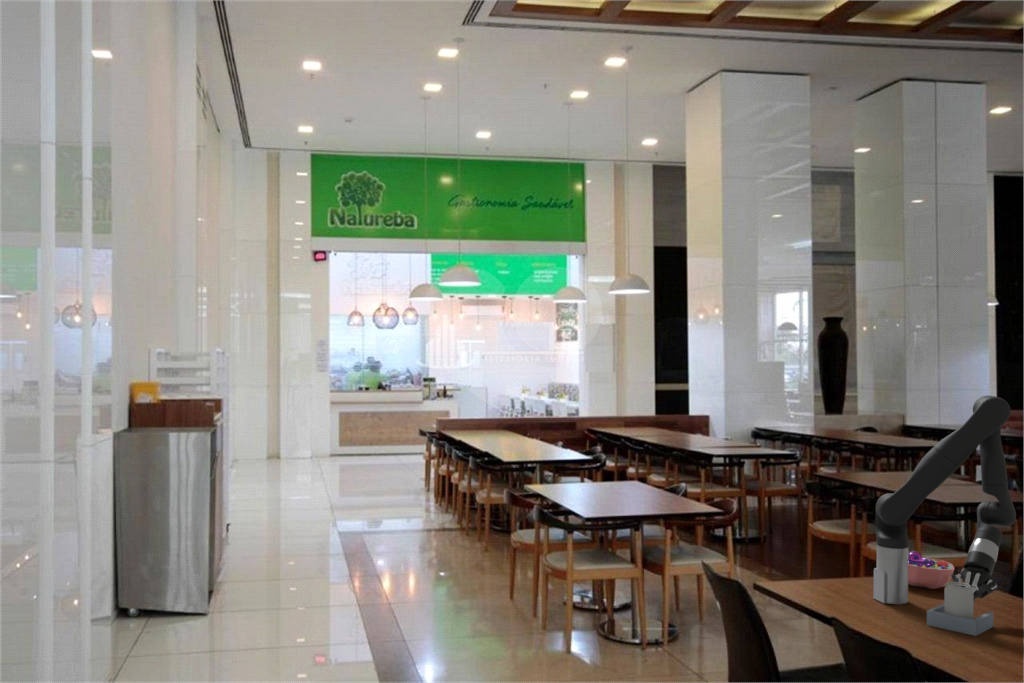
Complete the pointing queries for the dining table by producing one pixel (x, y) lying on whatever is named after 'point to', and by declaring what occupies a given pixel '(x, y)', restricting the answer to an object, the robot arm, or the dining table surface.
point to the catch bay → (959, 621)
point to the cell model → (928, 571)
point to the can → (958, 600)
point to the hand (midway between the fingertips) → (965, 606)
